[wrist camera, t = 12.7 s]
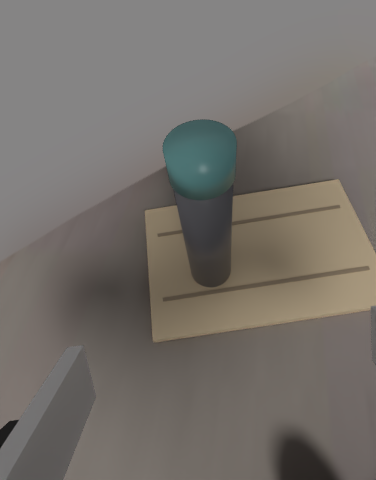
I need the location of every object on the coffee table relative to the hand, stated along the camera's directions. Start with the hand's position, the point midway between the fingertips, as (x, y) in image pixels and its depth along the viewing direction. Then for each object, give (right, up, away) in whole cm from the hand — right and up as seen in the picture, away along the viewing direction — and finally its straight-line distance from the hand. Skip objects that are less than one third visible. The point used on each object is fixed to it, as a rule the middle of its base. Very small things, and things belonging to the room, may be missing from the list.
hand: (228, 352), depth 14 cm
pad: (+4, +4, +12) cm, 13 cm away
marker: (0, +3, +11) cm, 12 cm away
